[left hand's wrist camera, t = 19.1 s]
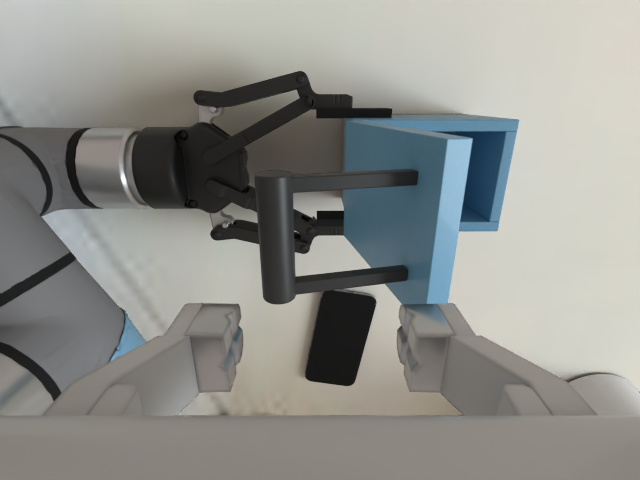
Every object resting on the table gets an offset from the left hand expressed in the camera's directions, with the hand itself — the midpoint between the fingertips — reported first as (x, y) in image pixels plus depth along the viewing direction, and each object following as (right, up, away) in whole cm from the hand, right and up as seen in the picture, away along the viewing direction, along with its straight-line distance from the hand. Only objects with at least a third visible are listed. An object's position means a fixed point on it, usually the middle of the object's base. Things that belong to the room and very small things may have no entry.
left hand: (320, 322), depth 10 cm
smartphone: (+3, -11, +38) cm, 40 cm away
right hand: (+6, +9, +23) cm, 26 cm away
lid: (+5, +5, +12) cm, 14 cm away
